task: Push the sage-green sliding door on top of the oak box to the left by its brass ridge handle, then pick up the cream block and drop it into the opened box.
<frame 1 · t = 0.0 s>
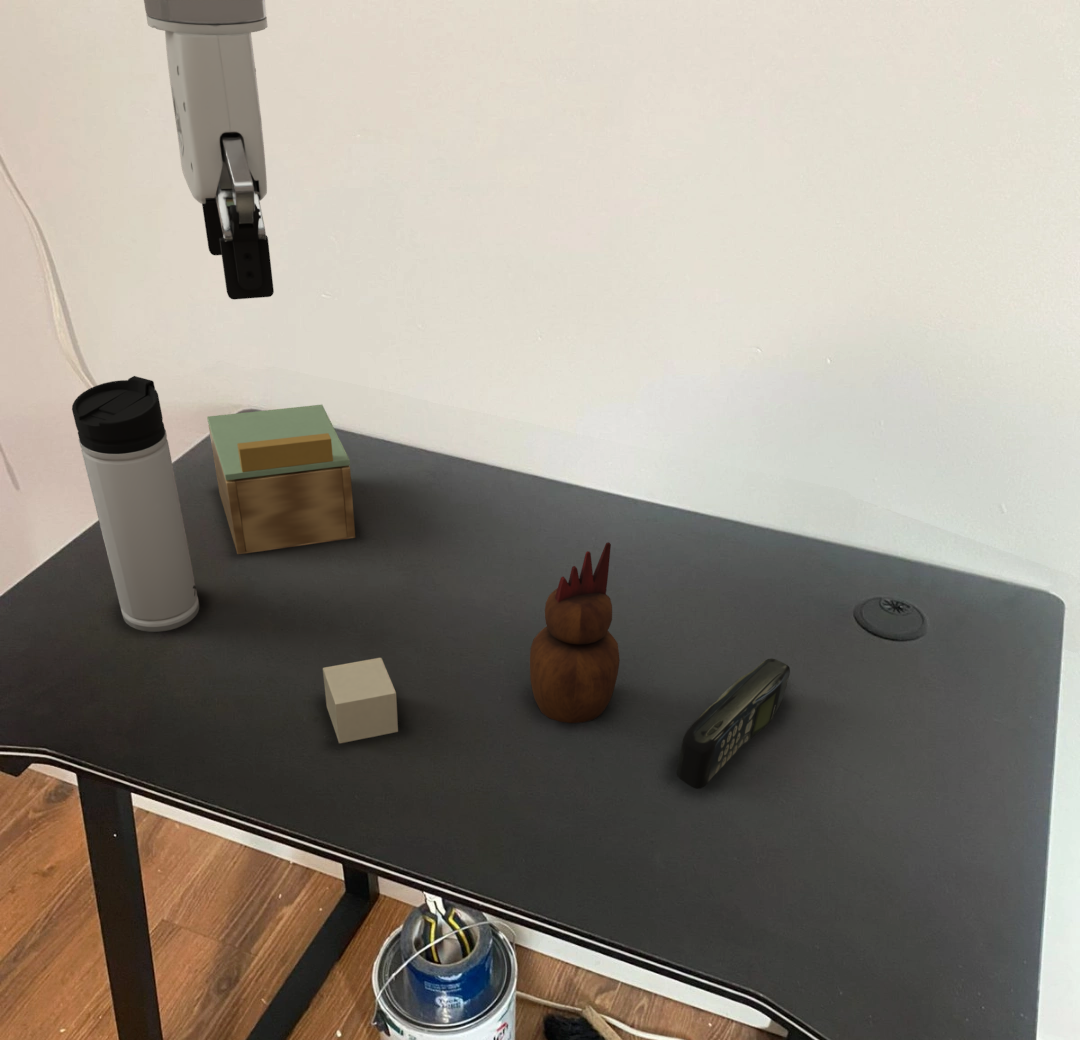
hand: (240, 274, 79), 27 cm above the table, tool pointing down, fingers open, 9 cm apart
oak box: (286, 520, 104), on the table
slide door: (275, 429, 98), point 10 cm above the table, slide at 0.0 cm
cream block: (362, 725, 82), on the table
travel mug: (164, 617, 92), on the table
wooden figurine: (569, 712, 85), on the table
mobile phone: (733, 741, 83), on the table
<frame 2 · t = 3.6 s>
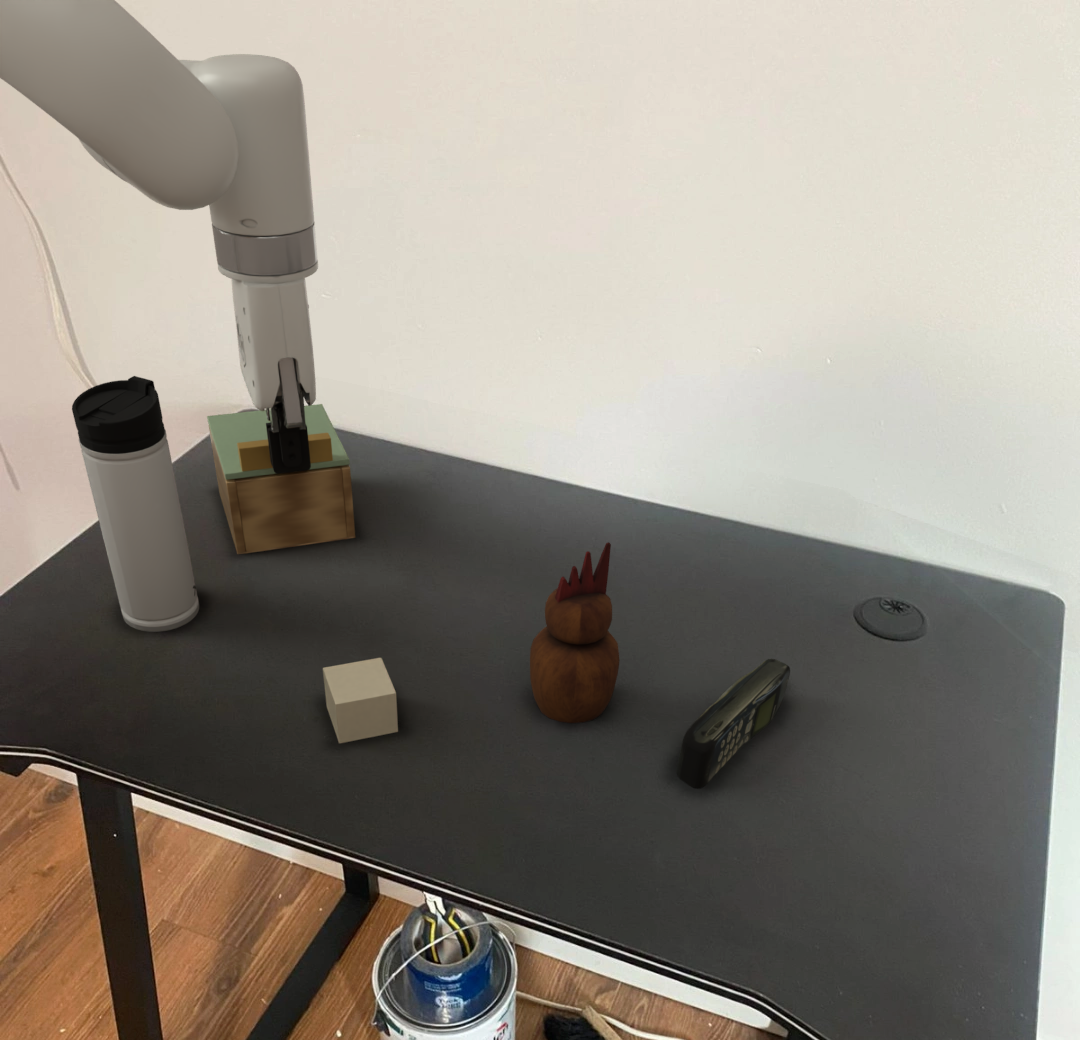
hand: (291, 467, 93), 10 cm above the table, tool pointing down, fingers closed
slide door: (275, 428, 98), point 10 cm above the table, slide at 0.1 cm, touching gripper
everything else where it was.
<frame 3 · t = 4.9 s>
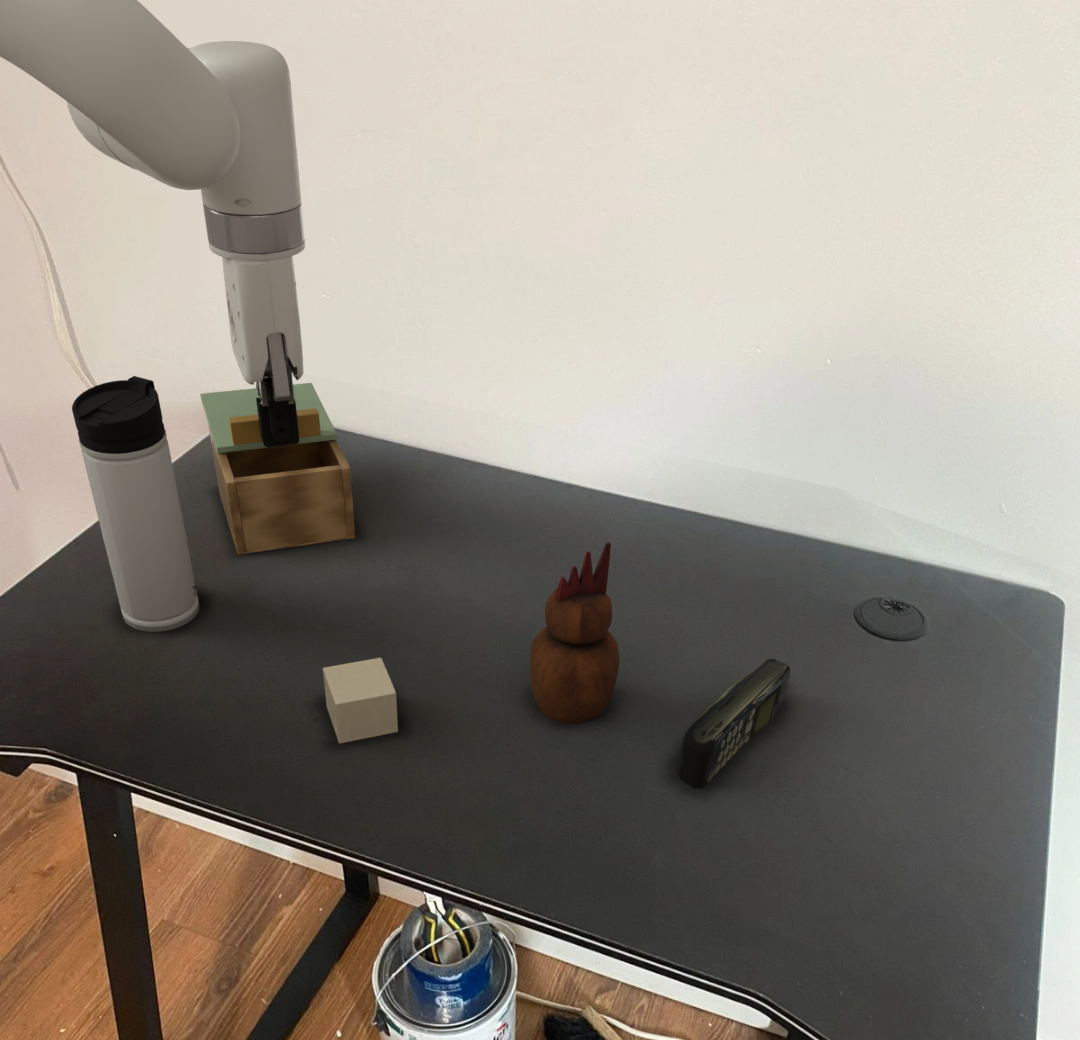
hand: (280, 441, 97), 10 cm above the table, tool pointing down, fingers closed
slide door: (265, 405, 102), point 10 cm above the table, slide at 5.3 cm, touching gripper
everything else where it was.
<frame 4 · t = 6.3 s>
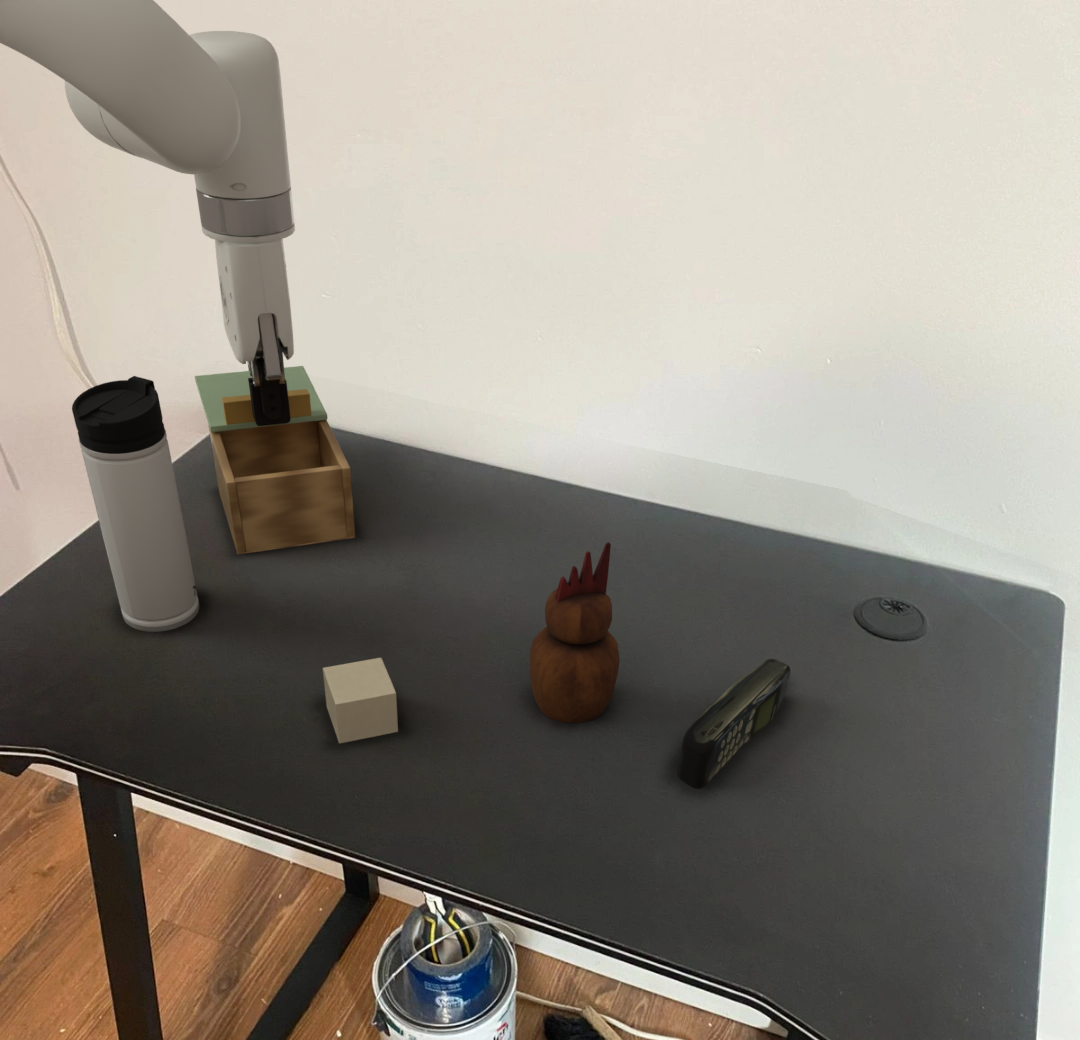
hand: (272, 420, 100), 10 cm above the table, tool pointing down, fingers closed
slide door: (258, 386, 105), point 10 cm above the table, slide at 9.7 cm, touching gripper
everything else where it was.
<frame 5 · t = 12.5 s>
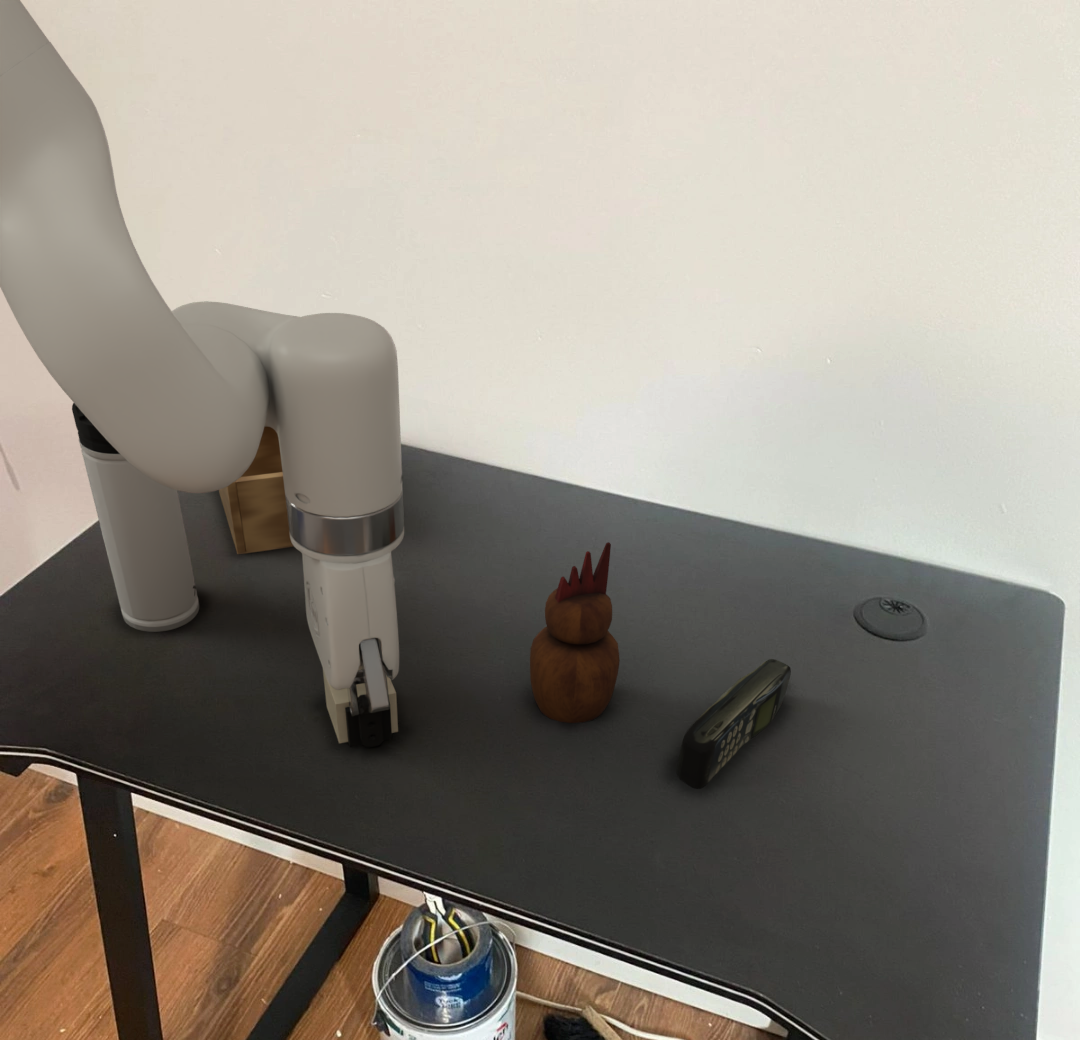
hand: (362, 722, 82), 0 cm above the table, tool pointing down, fingers closed on cream block, 4 cm apart
slide door: (258, 386, 105), point 10 cm above the table, slide at 9.7 cm
cream block: (362, 725, 82), on the table, touching gripper
everything else where it was.
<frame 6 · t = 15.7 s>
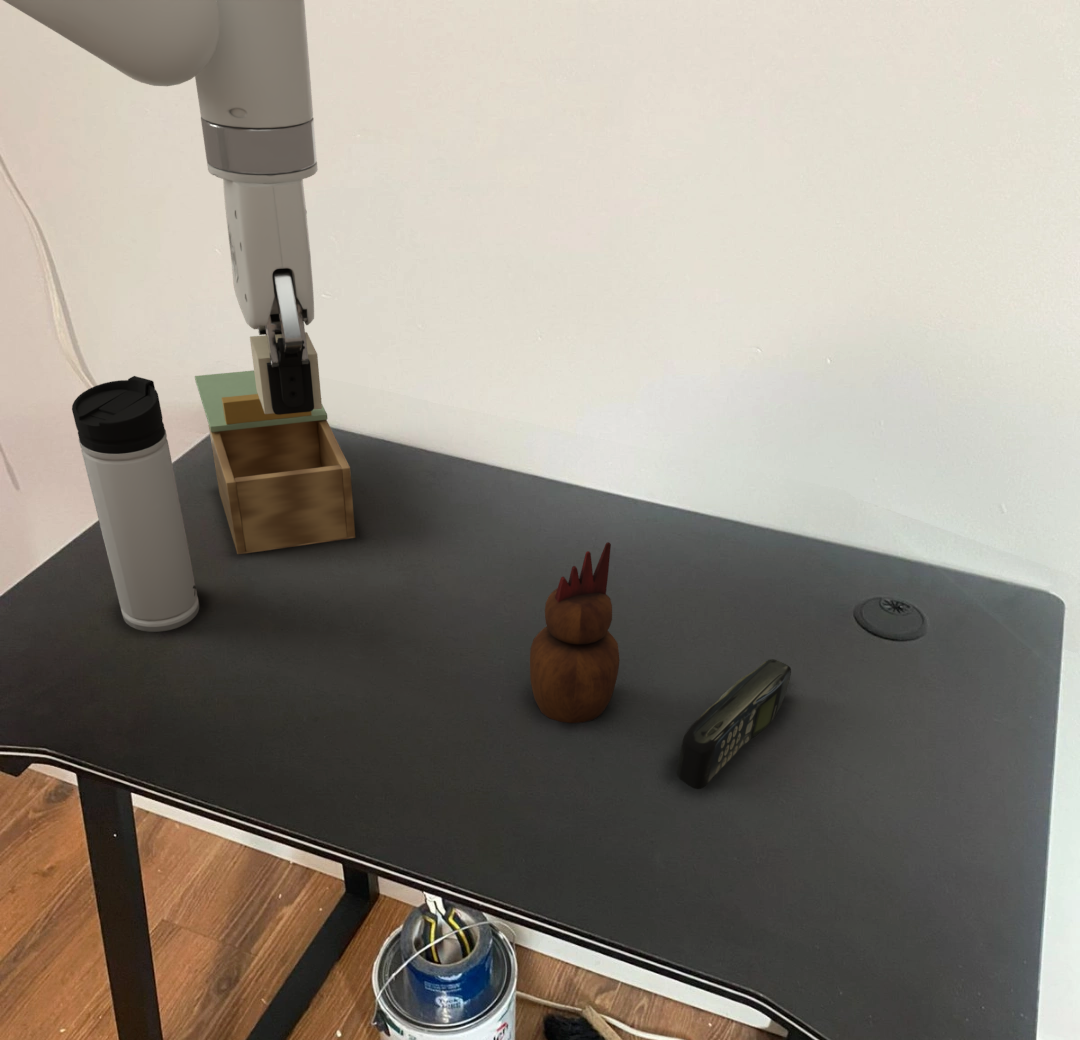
hand: (287, 395, 86), 17 cm above the table, tool pointing down, fingers closed on cream block, 4 cm apart
cream block: (289, 399, 86), point 17 cm above the table, touching gripper
everything else where it was.
when the fingers open (7 cm above the table, at t = 19.3 s): cream block stays where it is, point 6 cm above the table.
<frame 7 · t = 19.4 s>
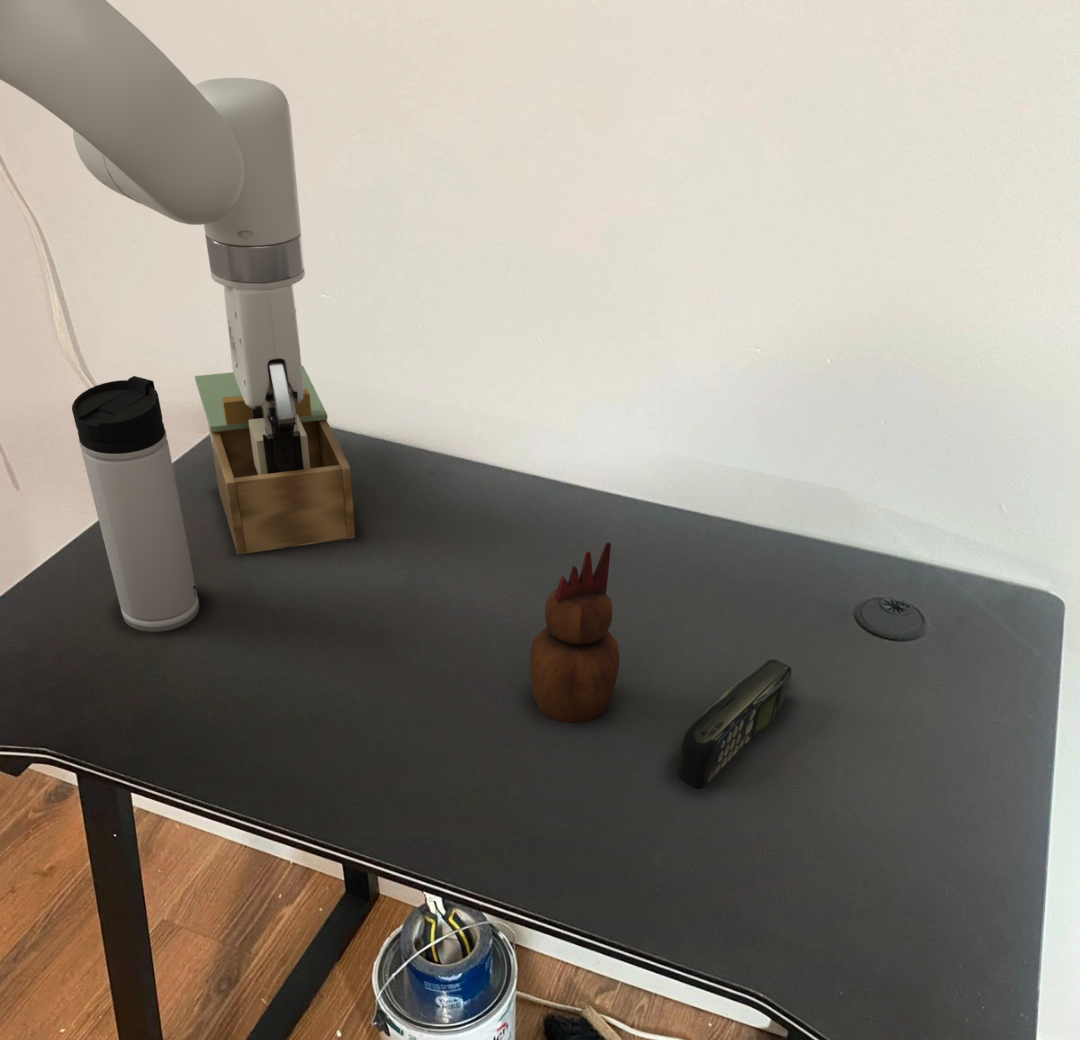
hand: (280, 459, 99), 7 cm above the table, tool pointing down, fingers open, 4 cm apart
cream block: (282, 472, 100), point 6 cm above the table
everything else where it was.
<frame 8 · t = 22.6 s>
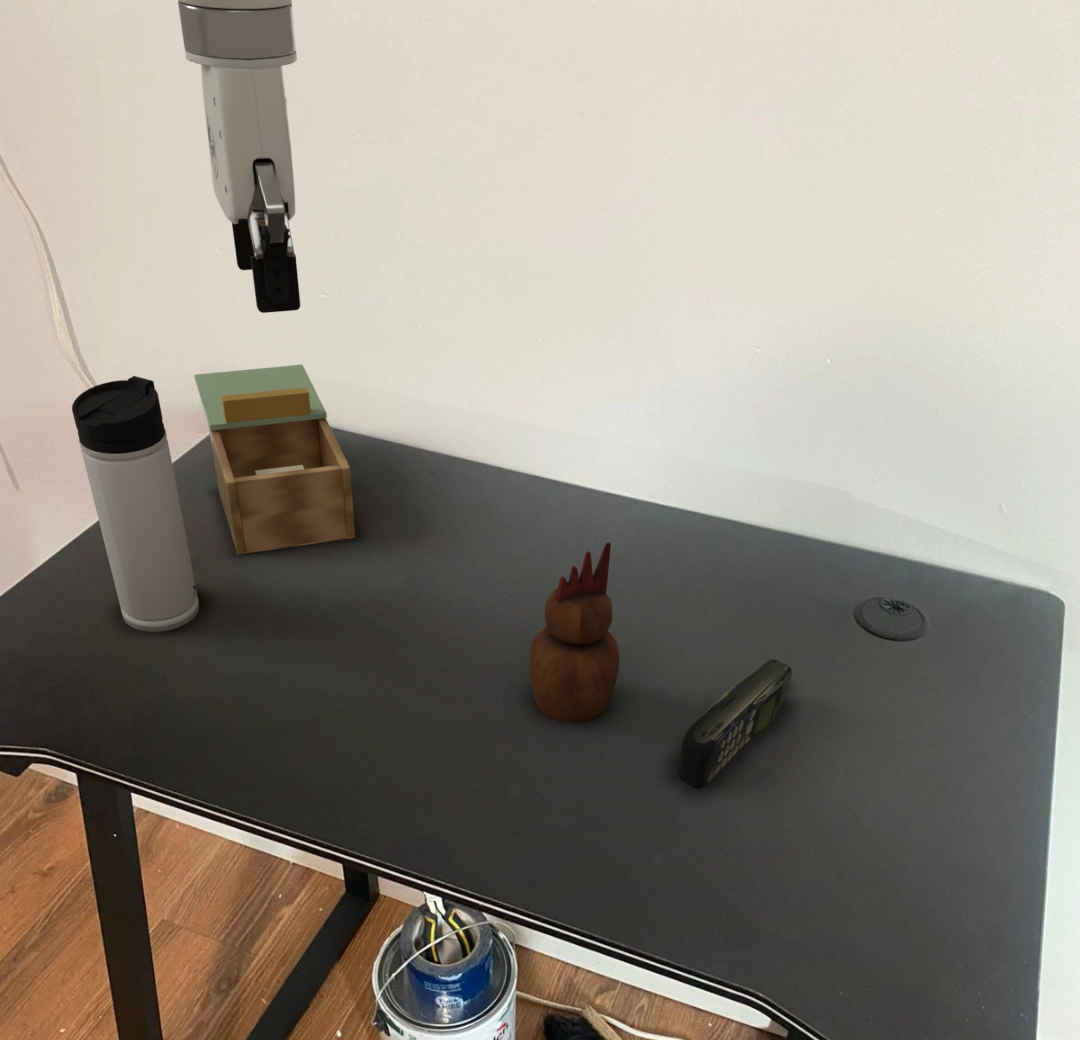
hand: (268, 288, 84), 24 cm above the table, tool pointing down, fingers open, 9 cm apart
slide door: (257, 385, 105), point 10 cm above the table, slide at 10.0 cm
cream block: (288, 520, 103), point 1 cm above the table, touching oak box
everything else where it was.
at the end: slide door slide at 10.0 cm; cream block inside the target area on the oak box (1.4 cm from its centre), point 0.8 cm above the oak box's base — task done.
